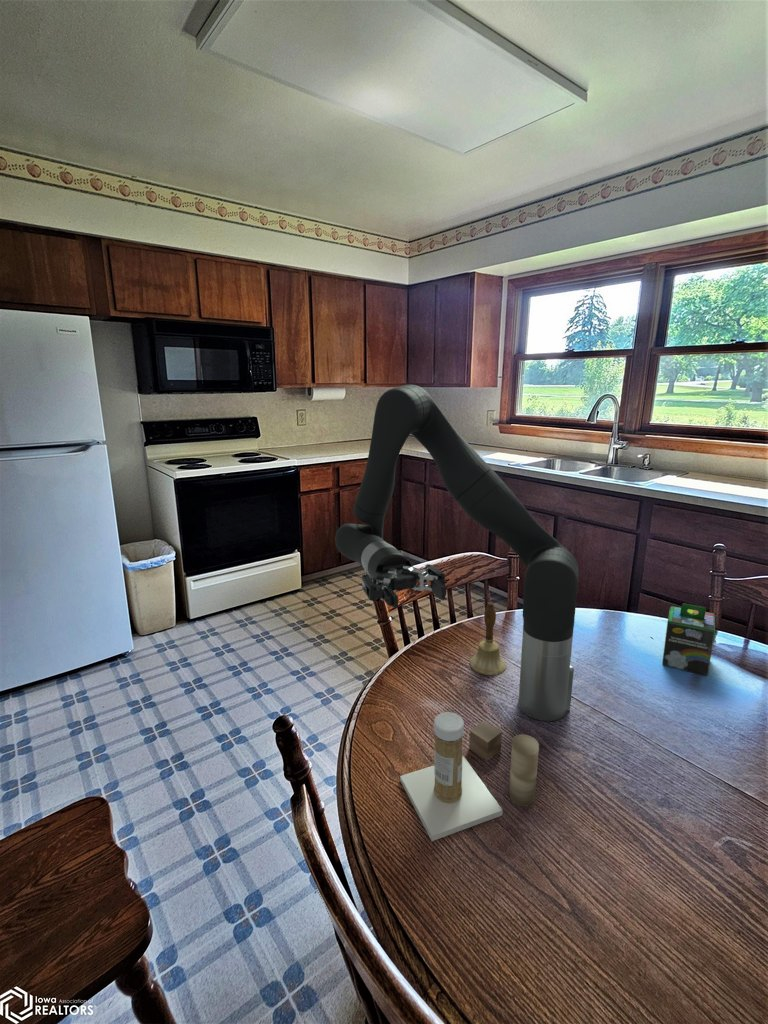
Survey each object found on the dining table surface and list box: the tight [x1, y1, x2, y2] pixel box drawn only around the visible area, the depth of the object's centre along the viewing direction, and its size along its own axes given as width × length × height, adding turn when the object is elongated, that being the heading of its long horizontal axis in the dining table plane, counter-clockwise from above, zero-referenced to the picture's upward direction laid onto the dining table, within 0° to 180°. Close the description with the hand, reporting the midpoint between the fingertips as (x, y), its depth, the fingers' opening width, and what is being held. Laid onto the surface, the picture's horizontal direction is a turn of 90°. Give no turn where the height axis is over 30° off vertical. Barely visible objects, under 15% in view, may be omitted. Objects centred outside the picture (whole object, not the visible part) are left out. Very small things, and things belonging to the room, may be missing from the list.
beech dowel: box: [508, 733, 540, 807], centre depth 78 cm, size 4×4×10 cm
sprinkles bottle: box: [433, 711, 465, 802], centre depth 78 cm, size 5×5×14 cm
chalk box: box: [662, 603, 716, 677], centre depth 113 cm, size 9×9×15 cm
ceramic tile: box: [399, 755, 504, 842], centre depth 79 cm, size 12×12×1 cm
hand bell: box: [469, 601, 507, 676], centre depth 113 cm, size 8×8×16 cm
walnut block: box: [468, 720, 503, 762], centre depth 89 cm, size 4×4×4 cm
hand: (420, 598), depth 82 cm, fingers open, 8 cm apart
